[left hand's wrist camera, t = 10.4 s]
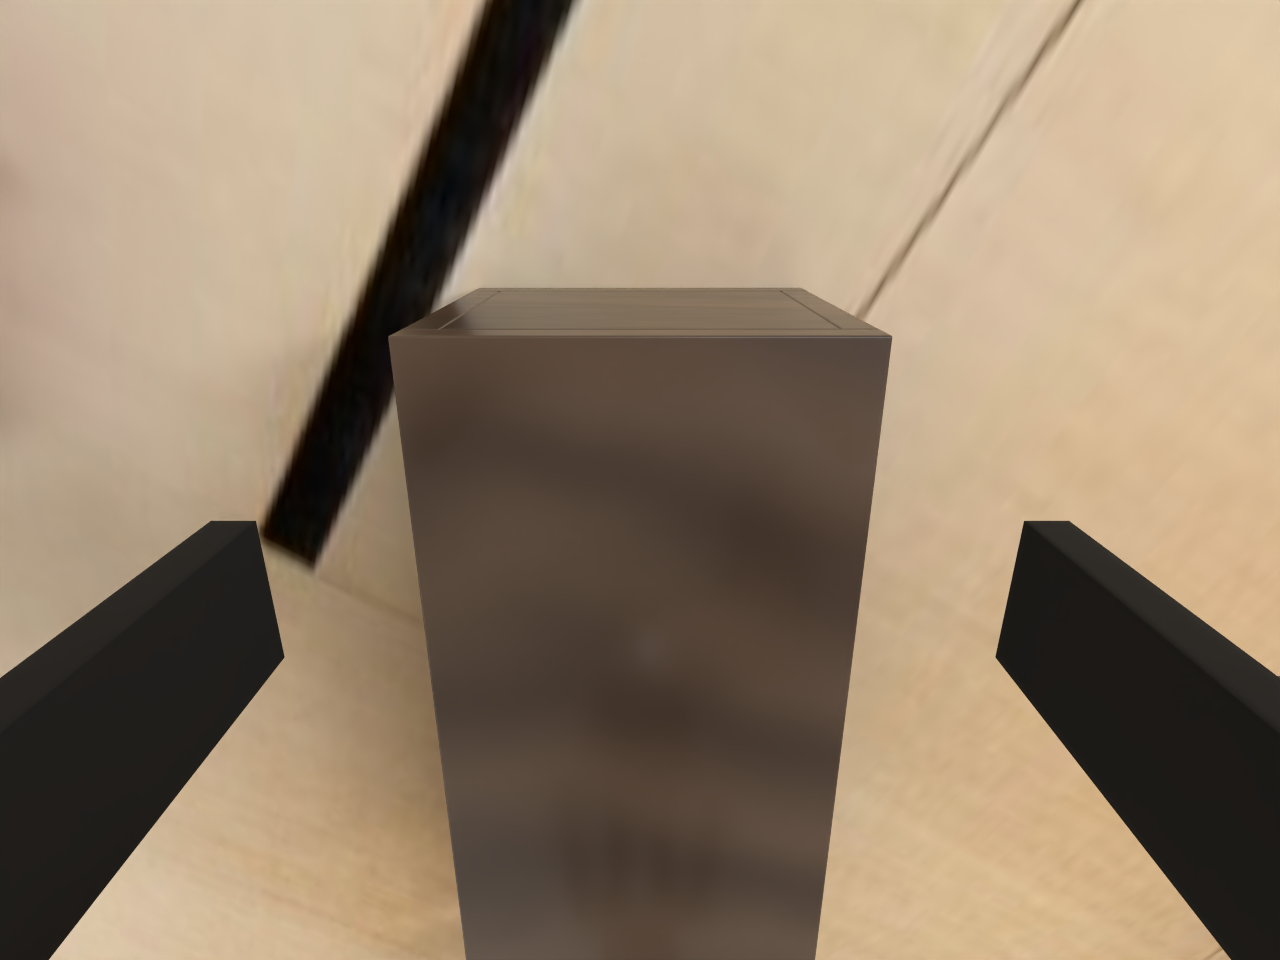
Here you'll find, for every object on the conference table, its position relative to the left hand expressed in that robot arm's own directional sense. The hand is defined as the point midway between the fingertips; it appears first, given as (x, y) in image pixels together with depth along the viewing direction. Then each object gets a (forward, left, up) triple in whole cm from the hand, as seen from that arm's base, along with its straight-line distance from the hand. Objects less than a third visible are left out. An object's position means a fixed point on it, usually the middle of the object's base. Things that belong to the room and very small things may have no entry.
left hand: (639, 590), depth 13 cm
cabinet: (+7, -3, -15) cm, 17 cm away
